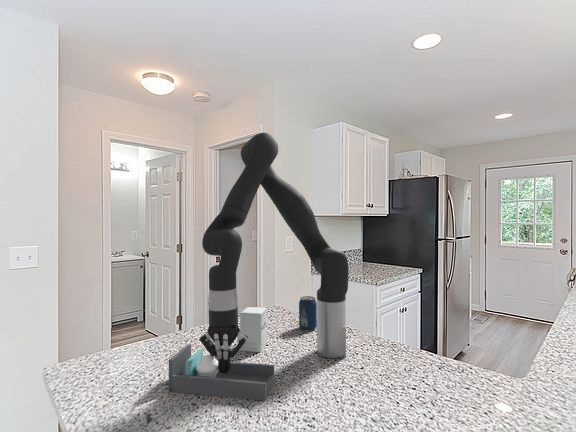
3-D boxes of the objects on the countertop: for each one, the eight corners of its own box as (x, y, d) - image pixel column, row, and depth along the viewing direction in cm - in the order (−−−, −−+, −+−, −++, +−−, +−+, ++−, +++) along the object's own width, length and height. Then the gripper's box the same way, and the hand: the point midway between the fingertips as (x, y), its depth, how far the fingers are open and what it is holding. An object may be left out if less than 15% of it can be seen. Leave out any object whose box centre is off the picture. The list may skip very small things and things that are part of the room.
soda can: (315, 325, 129) (315, 295, 130) (317, 331, 123) (317, 300, 123) (298, 325, 129) (298, 296, 129) (299, 331, 122) (299, 300, 122)
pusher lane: (274, 379, 86) (274, 350, 86) (265, 400, 76) (265, 367, 76) (187, 372, 91) (187, 344, 91) (168, 391, 81) (168, 359, 81)
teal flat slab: (202, 371, 88) (202, 350, 89) (189, 386, 81) (189, 362, 81) (198, 371, 89) (198, 349, 89) (185, 385, 81) (185, 361, 81)
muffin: (197, 387, 81) (197, 359, 81) (194, 376, 86) (194, 350, 86) (221, 382, 83) (221, 355, 83) (217, 372, 89) (217, 346, 89)
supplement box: (261, 352, 104) (260, 313, 104) (239, 351, 105) (239, 312, 105) (267, 344, 111) (267, 307, 111) (246, 342, 112) (246, 306, 112)
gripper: (251, 302, 86) (253, 366, 86) (205, 301, 88) (206, 364, 88) (243, 310, 79) (244, 381, 79) (192, 308, 81) (194, 377, 81)
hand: (224, 372), depth 83 cm, fingers closed
